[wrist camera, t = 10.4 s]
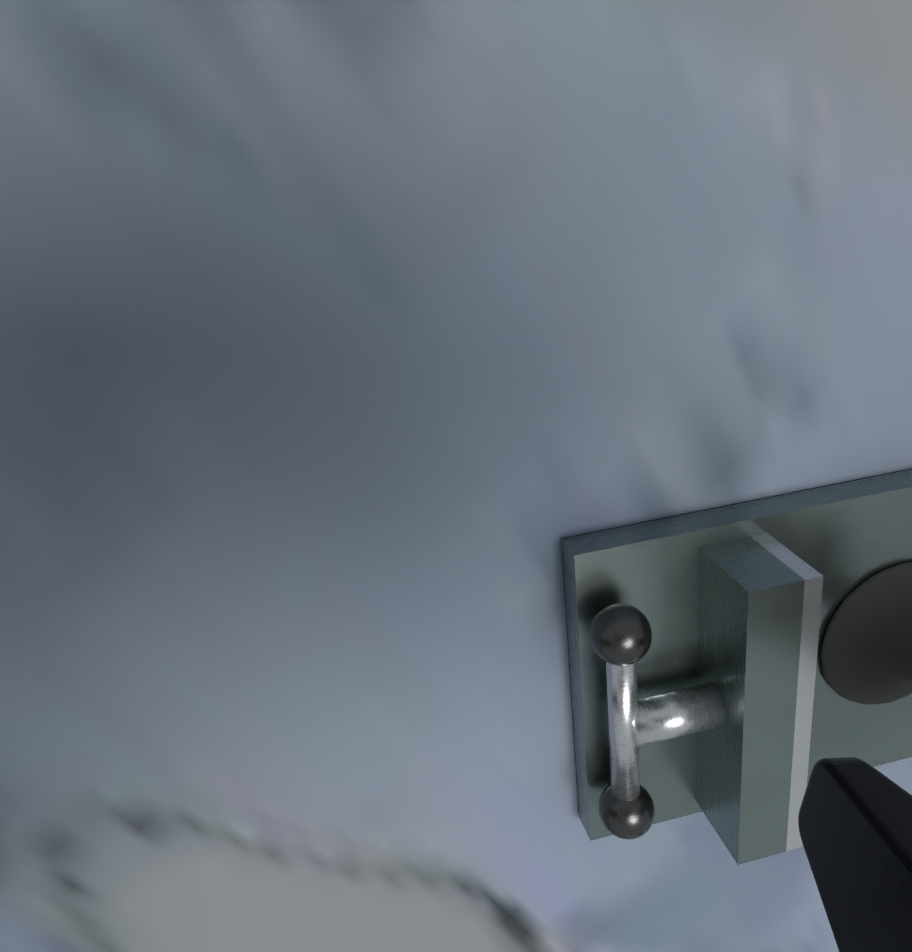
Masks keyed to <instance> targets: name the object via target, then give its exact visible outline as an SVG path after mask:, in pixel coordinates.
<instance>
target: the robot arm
mask: <svg viewBox="0 0 912 952" xmlns="http://www.w3.org/2000/svg"><path fill="white" fill-rule="evenodd" d="M798 826H799V832H800V837H801V840H802V843H803V846H804V849H805V852H806V855H807V858H808V861H809V864H810V867H811V870H812V873H813V875H814V878H815V881H816V884H817V887H818V890H819V893H820V896H821V899H822V902H823V905H824V908H825V911H826V914H827V917H828V920H829V923H830V926H831V929H832V931H833V934H834V937H835V940H836V943H837V946H838V949H839V952H912V795H910V794H909V793H907V792H906V791H905V790H903V789H902V788H901V787H899V786H898V785H896V784H895V783H894V782H892V781H891V780H890V779H888V778H887V777H886V776H884V775H883V774H881V773H880V772H879V771H877V770H876V769H875V768H873V767H872V766H871V765H869V764H868V763H866V762H865V761H863V760H861V759H859V758H854V757H841V758H823V759H820V760H819V761H818V762H817V763H816V764H814V767H813V769H812V772H811V775H810V778H809V781H808V784H807V788H806V791H805V794H804V797H803V800H802V803H801V807H800V810H799V815H798Z"/></svg>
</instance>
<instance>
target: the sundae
mask: <svg viewBox="0 0 912 952" xmlns="http://www.w3.org/2000/svg"><path fill="white" fill-rule="evenodd" d="M821 665H822V670H823V674H824V678H825V680H826V681H827V682H828V684H829V685H830V687H831V688H832V689H833V690H834V691H835V692H836V693H837V694H838V695H839V696H841V697H843V698H845V699H847V700H850V701H853V702H857V703H860V704H864V705H868V704H883V703H890V702H893V701H896V700H898V699H901V698H903V697H906V696H907V695H909V694H911V693H912V562H907V563H901V564H899V565H896V566H893V567H890V568H887V569H885V570H883V571H881V572H879V573H877V574H874V575H872V576H871V577H869V578H868V579H867V580H865V581H864V582H863V583H861V584H860V585H859V586H858V587H857V588H855V589H854V590H853V591H852V592H851V593H850V594H849V595H848V596H847V597H846V598H845V599H844V601H843V602H842V603H841V605H840V606H839V607H838V609H837V610H836V612H835V613H834V615H833V617H832V618H831V620H830V621H829V623H828V626H827V629H826V632H825V635H824V638H823V643H822V648H821Z"/></svg>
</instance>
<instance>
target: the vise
mask: <svg viewBox="0 0 912 952" xmlns="http://www.w3.org/2000/svg"><path fill="white" fill-rule="evenodd" d="M562 553H563V569H564V585H565V601H566V616H567V632H568V648H569V664H570V679H571V695H572V711H573V727H574V742H575V758H576V774H577V789H578V805H579V817H580V819H581V821H582V823H583V826H584V828H585V830H586V832H587V834H588V836H589V838H590V840H594V839H598V838H602V837H606V836H610V835H615V836H617V837H619V838H622V839H635V838H638V837H640V836H642V835H644V834H645V833H646V832H647V831H648V830H649V829H650V827H651V825H652V824H656V823H659V822H663V821H667V820H671V819H675V818H679V817H682V816H686V815H690V814H694V813H698V812H702V811H703V812H704V814H705V815H706V817H707V818H708V820H709V821H710V823H711V824H712V826H713V827H714V829H715V831H716V832H717V834H718V835H719V837H720V838H721V840H722V841H723V843H724V844H725V846H726V847H727V849H728V850H729V852H730V853H731V855H732V856H733V858H734V859H735V861H736V862H737V864H738V865H739V864H742V863H746V862H750V861H753V860H757V859H761V858H764V857H768V856H772V855H775V854H779V853H783V852H786V851H790V850H794V849H797V848H801V847H802V840H801V837H800V832H799V826H798V815H799V810H800V807H801V803H802V800H803V797H804V794H805V791H806V788H807V784H808V781H809V778H810V775H811V772H812V769H813V767H814V764H816V763H817V762H818V761H819V760H820V759H823V758H841V757H854V758H859V759H861V760H863V761H865V762H866V763H868V764H869V765H871V766H872V767H874V766H878V765H882V764H886V763H890V762H893V761H897V760H901V759H905V758H909V757H912V693H911V694H909V695H907V696H906V697H903V698H901V699H898V700H896V701H893V702H890V703H883V704H868V705H864V704H860V703H857V702H853V701H850V700H847V699H845V698H843V697H841V696H839V695H838V694H837V693H836V692H835V691H834V690H833V689H832V688H831V687H830V685H829V684H828V682H827V681H826V680H825V678H824V674H823V670H822V665H821V648H822V643H823V638H824V635H825V632H826V629H827V626H828V623H829V621H830V620H831V618H832V617H833V615H834V613H835V612H836V610H837V609H838V607H839V606H840V605H841V603H842V602H843V601H844V599H845V598H846V597H847V596H848V595H849V594H850V593H851V592H852V591H853V590H854V589H855V588H857V587H858V586H859V585H860V584H861V583H863V582H864V581H865V580H867V579H868V578H869V577H871V576H872V575H874V574H877V573H879V572H881V571H883V570H885V569H887V568H890V567H893V566H896V565H899V564H901V563H907V562H912V469H909V470H904V471H899V472H894V473H889V474H884V475H879V476H874V477H869V478H864V479H859V480H854V481H849V482H844V483H839V484H834V485H829V486H824V487H819V488H814V489H809V490H804V491H799V492H794V493H789V494H784V495H779V496H774V497H769V498H764V499H759V500H754V501H749V502H744V503H739V504H734V505H729V506H724V507H719V508H714V509H709V510H704V511H699V512H694V513H689V514H684V515H679V516H674V517H669V518H664V519H659V520H654V521H649V522H644V523H639V524H634V525H629V526H624V527H619V528H614V529H609V530H604V531H599V532H594V533H589V534H584V535H579V536H574V537H569V538H564V539H562Z"/></svg>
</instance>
